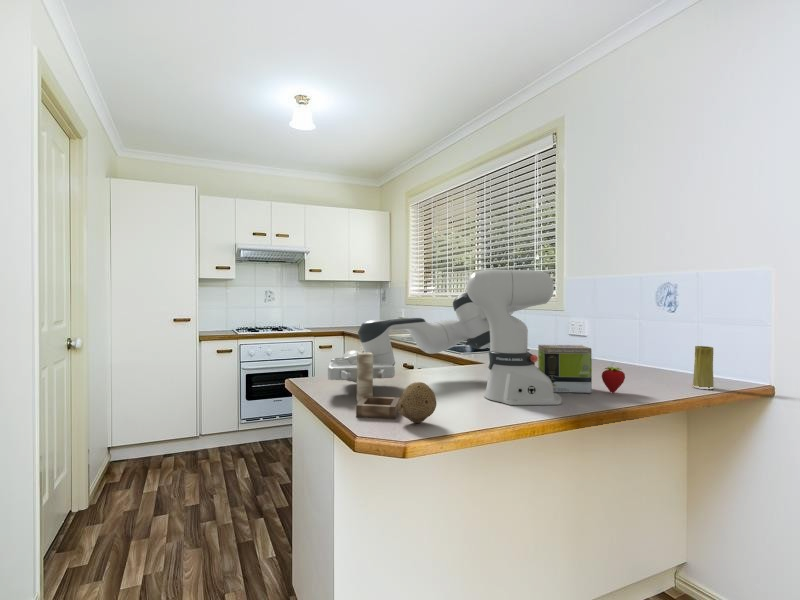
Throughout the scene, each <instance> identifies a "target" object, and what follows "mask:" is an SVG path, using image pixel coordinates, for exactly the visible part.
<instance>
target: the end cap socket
mask: <svg viewBox="0 0 800 600" xmlns="http://www.w3.org/2000/svg"><path fill="white" fill-rule="evenodd" d="M400 398H401V397H396V396H395V397H393V396H391V397H389V396H373V397H370V396H364V397H363V398H362V399H361V400H360V401H359V403H358V402H357V403H356V407H355V418H365V417H368V418H369V419H370V418H371V419H387V418H389V420H390V419H392V420H395V419H396V418H397V416H398V414H399V412H398V403H399V401H400Z"/></svg>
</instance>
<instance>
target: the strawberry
mask: <svg viewBox="0 0 800 600" xmlns="http://www.w3.org/2000/svg"><path fill="white" fill-rule="evenodd" d="M614 364H615V362H613V363H612V364H611V365H610V366H607V367H605V368H604V371H603V372H602V373H601V379H602V382H603V383H604V385H605V387H606V388H607V390H609V392H610V393H611V392H614V393H615V392H616V391H617V390H618V389H619V388H620V387H621V386H622V385H623V384H624V382H625V379H626V375H625V373H624V371H622V368H620V367H612V366H613V365H614Z"/></svg>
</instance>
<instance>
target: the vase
mask: <svg viewBox="0 0 800 600" xmlns="http://www.w3.org/2000/svg"><path fill="white" fill-rule="evenodd" d="M692 381H693V382H692V386H693V385H694V386H699V387H708V388H710V387H714V388H715V386H714V385H715V384H714V347H712V346H708V345H707V346H705V345H703V346H702V345H695V346H694V367H693V379H692Z"/></svg>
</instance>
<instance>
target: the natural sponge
mask: <svg viewBox="0 0 800 600" xmlns="http://www.w3.org/2000/svg"><path fill="white" fill-rule="evenodd" d="M399 398H400V401H399V403H398V411H399V412H398V414H400V415H401V416H403V417H404V418H406V419H407V420H409V421H410V422H412V423H415V424H420V423H422V422H424V421H425V420H426V419H427V418H429V417H430V416H432V415H433V414H434V413H435V410H436V408H437V398H436V394H435V392H434V390H433V389H432V388H431V387H430V386H429V385H428V384H426V383H425V382H421V381H420V382H419V381H418V382H416V381H415V382H413V383H410V384H409V385H407V386H406V387H405V388H404V390H403V392H402V393H401V395H400V397H399Z"/></svg>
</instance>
